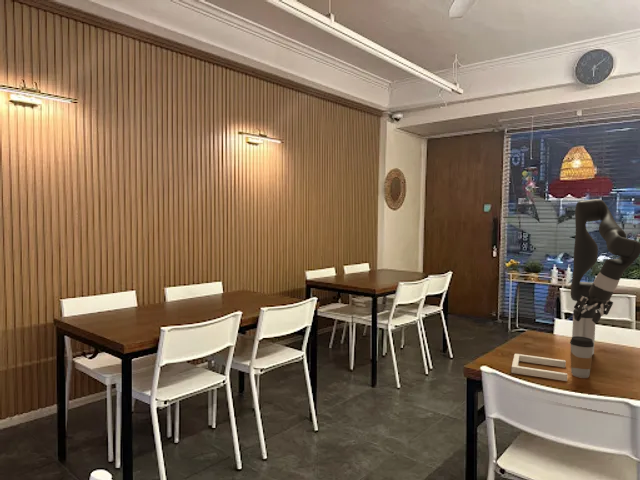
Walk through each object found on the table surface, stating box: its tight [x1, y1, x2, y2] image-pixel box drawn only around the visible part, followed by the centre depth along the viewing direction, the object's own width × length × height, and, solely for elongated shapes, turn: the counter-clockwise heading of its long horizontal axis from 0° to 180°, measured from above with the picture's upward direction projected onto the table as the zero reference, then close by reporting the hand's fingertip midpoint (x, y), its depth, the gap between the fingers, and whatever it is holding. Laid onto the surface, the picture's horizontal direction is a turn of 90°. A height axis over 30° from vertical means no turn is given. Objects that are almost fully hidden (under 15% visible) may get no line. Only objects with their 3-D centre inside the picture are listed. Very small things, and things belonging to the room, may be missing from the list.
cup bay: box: [511, 353, 568, 382], centre depth 192 cm, size 20×20×2 cm
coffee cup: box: [569, 336, 595, 379], centre depth 185 cm, size 8×8×15 cm
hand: (585, 321), depth 182 cm, fingers open, 8 cm apart
